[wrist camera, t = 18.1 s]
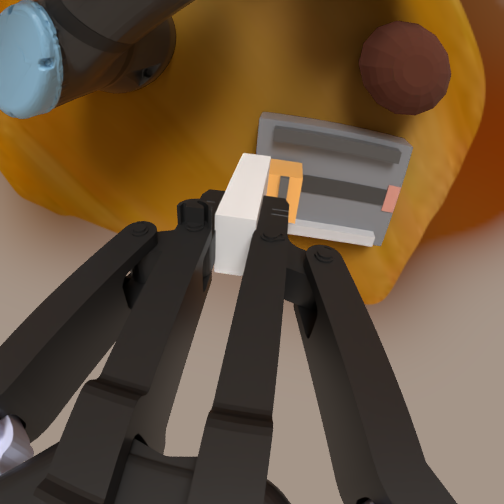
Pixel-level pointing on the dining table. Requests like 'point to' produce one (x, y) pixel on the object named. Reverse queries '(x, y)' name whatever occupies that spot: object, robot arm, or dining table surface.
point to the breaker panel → (338, 175)
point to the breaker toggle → (286, 183)
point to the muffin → (404, 68)
